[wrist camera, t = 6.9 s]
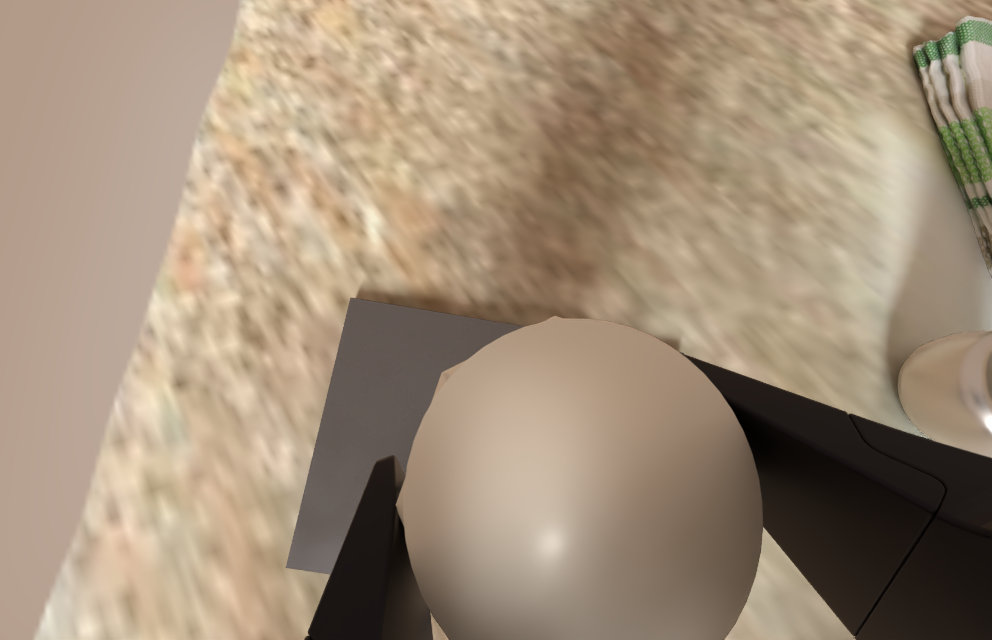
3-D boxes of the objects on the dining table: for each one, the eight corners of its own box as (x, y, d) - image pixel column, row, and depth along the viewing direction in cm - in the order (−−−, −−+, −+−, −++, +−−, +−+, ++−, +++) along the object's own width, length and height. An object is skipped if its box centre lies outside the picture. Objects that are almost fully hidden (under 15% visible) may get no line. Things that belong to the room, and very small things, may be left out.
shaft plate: (676, 355, 24) (721, 342, 20) (661, 615, 21) (709, 663, 17) (354, 301, 24) (330, 276, 19) (292, 561, 21) (249, 598, 17)
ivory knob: (613, 400, 17) (787, 378, 8) (573, 561, 16) (728, 764, 6) (468, 353, 17) (471, 274, 8) (415, 510, 16) (344, 637, 6)
